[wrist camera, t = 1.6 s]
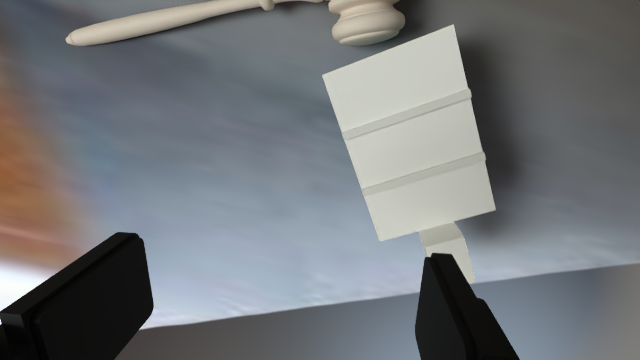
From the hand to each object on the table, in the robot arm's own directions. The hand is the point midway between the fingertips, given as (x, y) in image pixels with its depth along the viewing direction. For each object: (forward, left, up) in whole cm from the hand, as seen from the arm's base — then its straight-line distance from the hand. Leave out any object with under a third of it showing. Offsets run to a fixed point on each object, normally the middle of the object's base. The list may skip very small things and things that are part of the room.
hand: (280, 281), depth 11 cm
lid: (-7, +4, -18) cm, 19 cm away
